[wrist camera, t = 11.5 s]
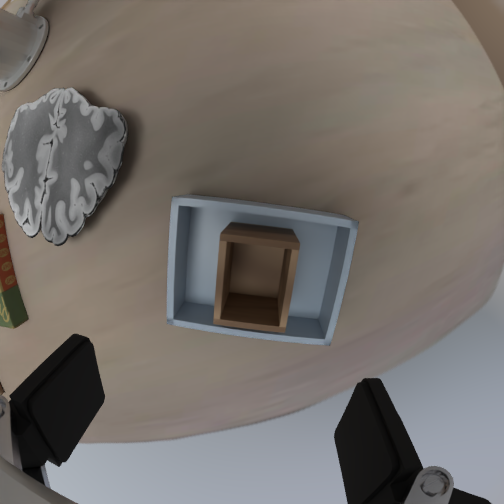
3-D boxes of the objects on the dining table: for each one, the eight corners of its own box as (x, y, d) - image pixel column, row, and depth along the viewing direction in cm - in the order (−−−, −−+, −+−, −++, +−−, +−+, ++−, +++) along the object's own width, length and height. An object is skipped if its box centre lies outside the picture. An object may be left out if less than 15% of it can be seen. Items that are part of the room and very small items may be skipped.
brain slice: (11, 220, 27) (-3, 224, 24) (32, 96, 23) (17, 92, 20) (120, 257, 27) (106, 265, 25) (153, 95, 23) (141, 87, 20)
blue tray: (187, 194, 25) (171, 196, 21) (343, 214, 25) (358, 221, 21) (180, 303, 28) (166, 323, 24) (321, 322, 28) (329, 345, 23)
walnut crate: (230, 221, 25) (220, 233, 19) (292, 229, 25) (300, 243, 19) (224, 294, 27) (213, 324, 21) (281, 301, 27) (284, 332, 21)
